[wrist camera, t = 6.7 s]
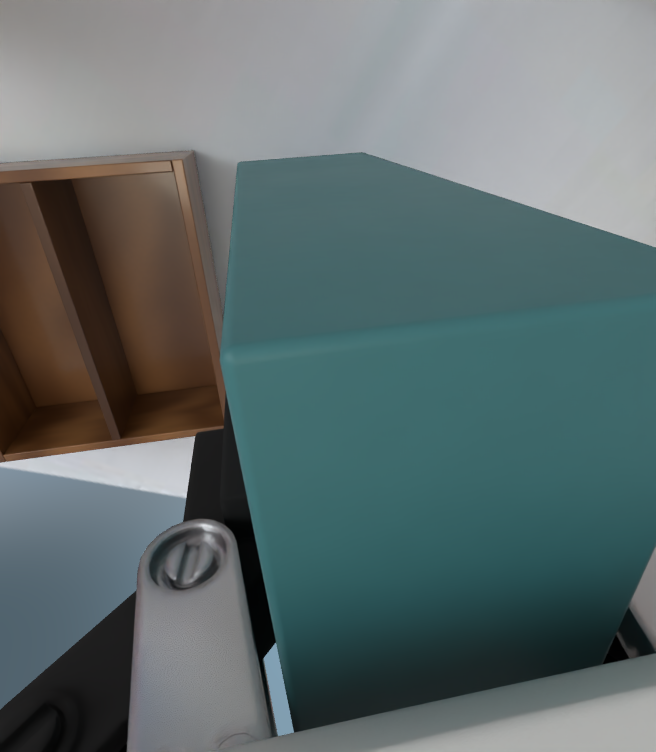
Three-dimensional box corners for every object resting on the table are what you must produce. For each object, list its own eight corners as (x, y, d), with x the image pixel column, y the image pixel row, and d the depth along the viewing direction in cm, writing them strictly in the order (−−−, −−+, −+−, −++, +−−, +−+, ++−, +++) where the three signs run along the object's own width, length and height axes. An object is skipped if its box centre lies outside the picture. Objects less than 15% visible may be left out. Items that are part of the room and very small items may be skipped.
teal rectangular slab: (365, 152, 12) (784, 283, 3) (369, 447, 17) (522, 848, 8) (236, 161, 12) (215, 351, 2) (279, 460, 17) (326, 899, 7)
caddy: (194, 150, 25) (182, 158, 20) (235, 384, 33) (234, 431, 28) (-74, 167, 24) (-156, 181, 19) (34, 409, 31) (-4, 463, 26)
